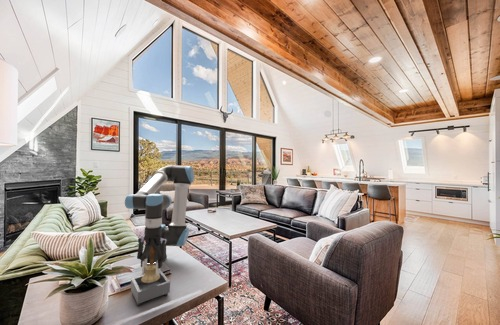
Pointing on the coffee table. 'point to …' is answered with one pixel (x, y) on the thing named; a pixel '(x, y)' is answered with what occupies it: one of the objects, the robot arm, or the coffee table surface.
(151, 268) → the hand bell
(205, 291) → the coffee table surface
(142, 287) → the grey footed planter box
